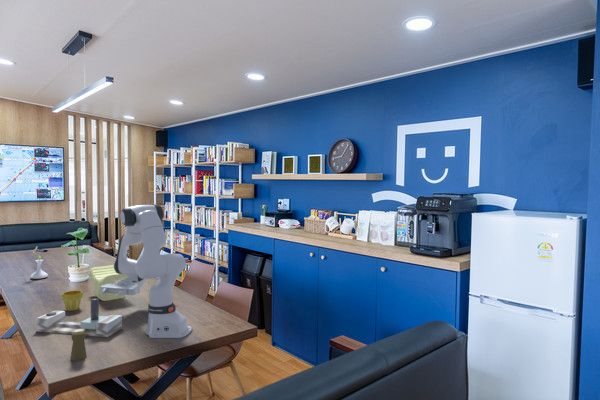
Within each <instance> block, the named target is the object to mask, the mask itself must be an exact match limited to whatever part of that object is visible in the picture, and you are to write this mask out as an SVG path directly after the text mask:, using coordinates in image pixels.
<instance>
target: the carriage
mask: <svg viewBox="0 0 600 400" xmlns="http://www.w3.org/2000/svg"><path fill="white" fill-rule="evenodd" d="M99 309H100V299H99V298H98V297H96V298H92V299H90V317H88V318H86V319H84V320H81V321H80V323H81V327H80V328H84V329H90V330H96V322H98V321H100V320H102V319H104V318H106V317H108V316H109V315H100V310H99Z"/></svg>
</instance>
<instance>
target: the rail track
mask: <svg viewBox="0 0 600 400" xmlns="http://www.w3.org/2000/svg"><path fill="white" fill-rule="evenodd" d="M107 316H108V317H106V318H104V319H102V320H100V321H98V322H96V330H90V329H84V328H80V327H81V322H76V321H75V322H74V321H66V310H53V311H50V312H47V313H45V314H43V315H41V316H38V317H36V332H40V333H52V334H53V333H55V334H63V335H65V334H66V335H72V334H73V333H75V332H78V331H83V332H85V334H86V336H90V337H104V338H108V337H110V336H112V335H113V334H115V333H117V332H118V331H120V330H121V329H122V328H123V315H122V314H110V315H107Z"/></svg>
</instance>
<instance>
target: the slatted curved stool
mask: <svg viewBox="0 0 600 400" xmlns="http://www.w3.org/2000/svg"><path fill="white" fill-rule="evenodd" d="M88 274H89V277H88V279H90V280H91V281H92V287H93V295H94V296H95V297H96V298H98V299H99V301H100V300H101V301H102V302H106V301H112V300H119V299H123V298H126V295H121V296H119V295H118V294H111V293H106V294H102V293H101V292H100V287H101V286H102V285H105V284H114V282H116V281H121V280H123V279H125V278H128V275H124V274H118V273H116V271H115V270H114V264H110V265H102V266H95V267H92V268H91V269H90V270H89V273H88Z"/></svg>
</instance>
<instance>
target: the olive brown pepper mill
mask: <svg viewBox="0 0 600 400" xmlns="http://www.w3.org/2000/svg"><path fill="white" fill-rule="evenodd" d="M86 336H87V335H86V334H85V332H83V331H78V332H75V333H73V334H71V340H72V344H71V352H70V361H71V360H72V362H77V361H83V360H85V359H86V358H87V357H88V356H87V350H86V349H87V348H86V344H85V339H86Z"/></svg>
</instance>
